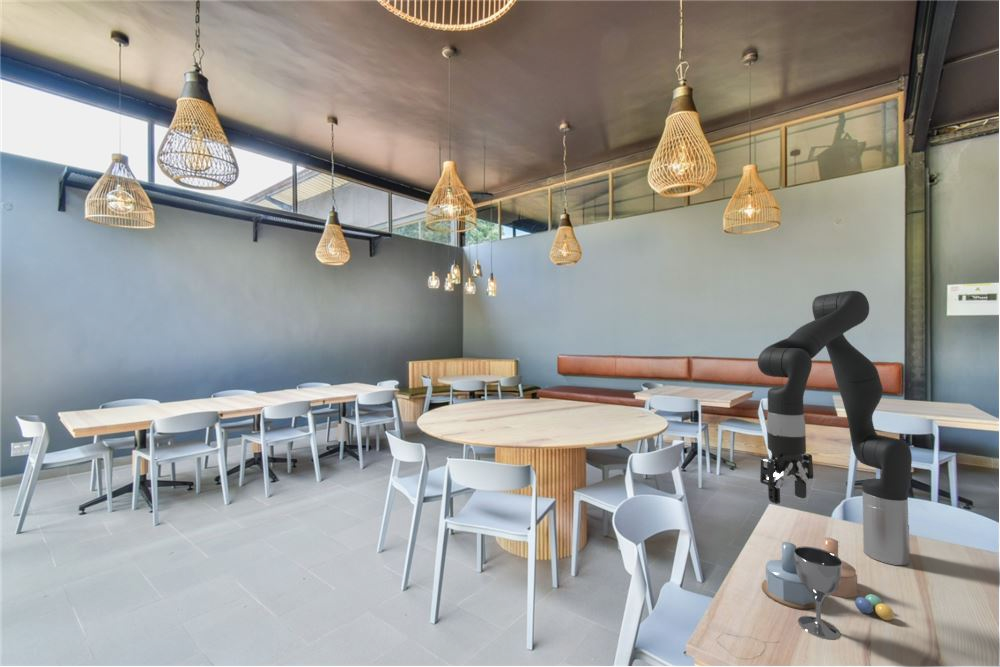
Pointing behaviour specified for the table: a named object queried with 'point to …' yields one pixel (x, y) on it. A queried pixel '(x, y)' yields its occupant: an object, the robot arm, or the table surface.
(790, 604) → the disc
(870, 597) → the marble seagreen
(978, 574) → the table surface
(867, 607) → the marble inkblue
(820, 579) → the wine glass
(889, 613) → the marble amber
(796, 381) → the robot arm
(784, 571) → the slate cloche
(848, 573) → the terracotta cloche
